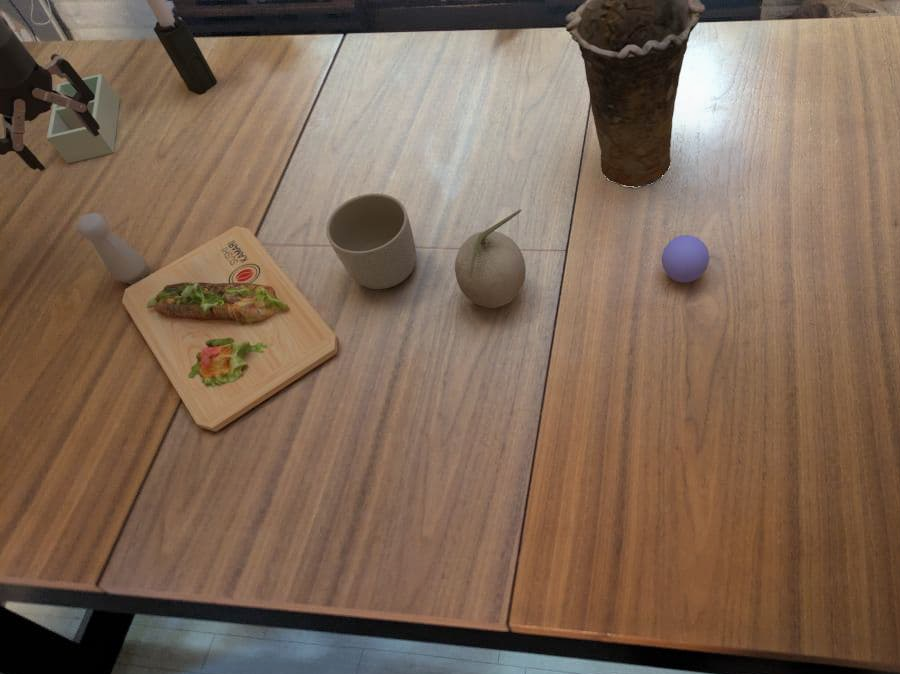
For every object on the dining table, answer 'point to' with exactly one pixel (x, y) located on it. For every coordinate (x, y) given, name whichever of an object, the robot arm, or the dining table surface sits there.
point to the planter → (373, 240)
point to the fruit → (490, 267)
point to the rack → (70, 130)
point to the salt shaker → (113, 249)
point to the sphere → (685, 258)
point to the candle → (182, 48)
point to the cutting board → (228, 327)
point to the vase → (633, 79)
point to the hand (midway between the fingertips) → (68, 150)
